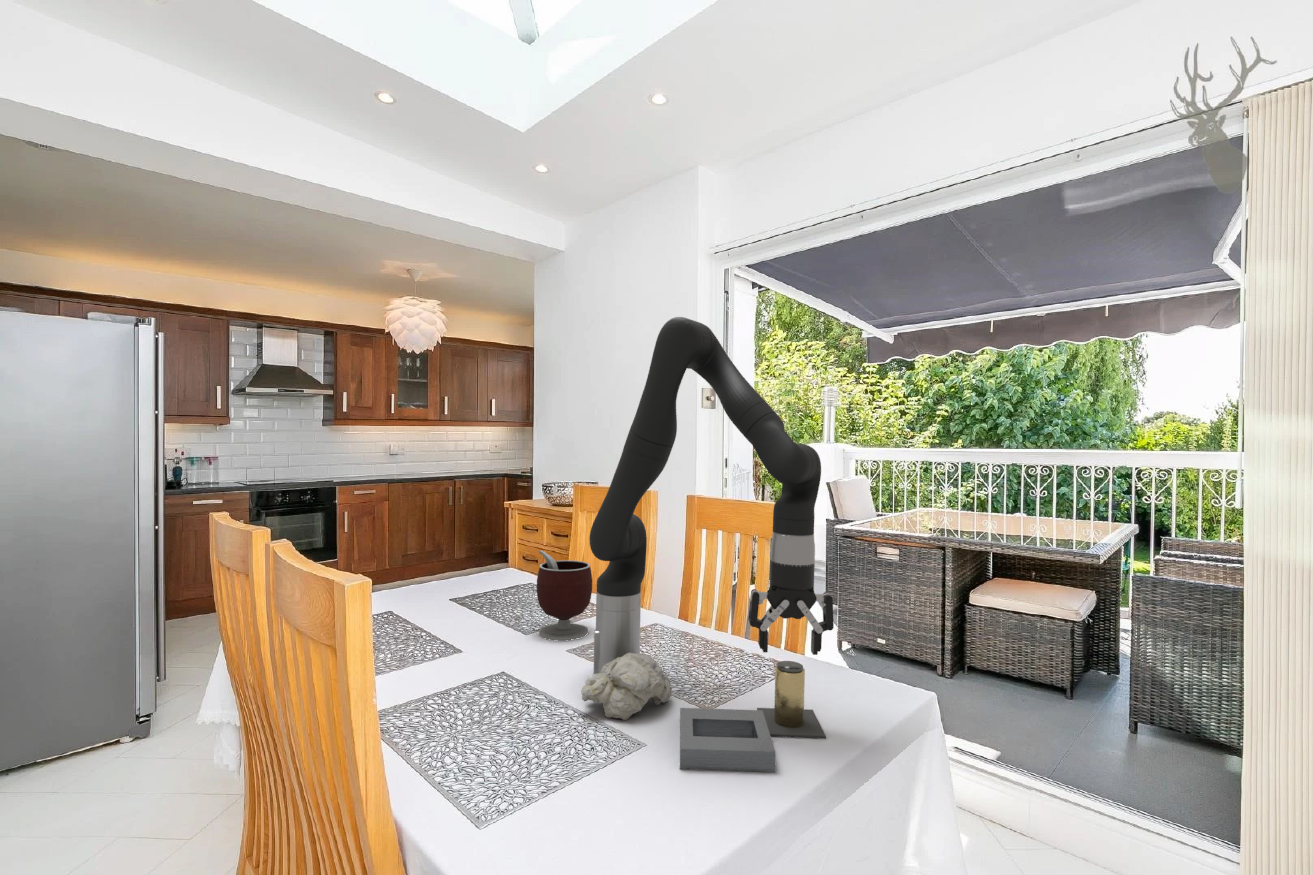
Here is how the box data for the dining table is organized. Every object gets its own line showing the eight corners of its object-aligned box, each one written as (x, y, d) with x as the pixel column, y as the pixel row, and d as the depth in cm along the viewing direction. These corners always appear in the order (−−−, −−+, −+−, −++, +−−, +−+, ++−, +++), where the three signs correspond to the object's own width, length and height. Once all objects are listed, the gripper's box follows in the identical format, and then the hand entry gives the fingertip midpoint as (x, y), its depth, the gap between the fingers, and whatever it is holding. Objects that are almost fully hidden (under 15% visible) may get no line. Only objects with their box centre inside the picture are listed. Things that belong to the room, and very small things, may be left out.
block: (679, 768, 90) (680, 748, 90) (679, 725, 104) (680, 707, 104) (775, 772, 89) (775, 751, 89) (762, 727, 103) (762, 710, 103)
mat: (764, 736, 100) (764, 733, 100) (757, 709, 110) (757, 707, 110) (825, 738, 100) (825, 735, 100) (812, 711, 110) (812, 709, 110)
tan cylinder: (776, 726, 103) (777, 670, 103) (772, 713, 108) (773, 659, 108) (806, 728, 103) (807, 671, 103) (800, 715, 108) (801, 660, 108)
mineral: (572, 684, 115) (576, 646, 110) (658, 669, 121) (665, 632, 116) (586, 742, 105) (591, 703, 100) (679, 722, 111) (688, 684, 106)
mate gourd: (602, 630, 156) (603, 552, 156) (566, 645, 144) (568, 561, 144) (556, 620, 164) (558, 546, 164) (519, 633, 152) (520, 553, 153)
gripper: (753, 561, 102) (750, 658, 102) (839, 564, 101) (836, 662, 101) (748, 553, 110) (745, 643, 110) (828, 556, 109) (825, 646, 109)
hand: (789, 652), depth 106 cm, fingers open, 8 cm apart
